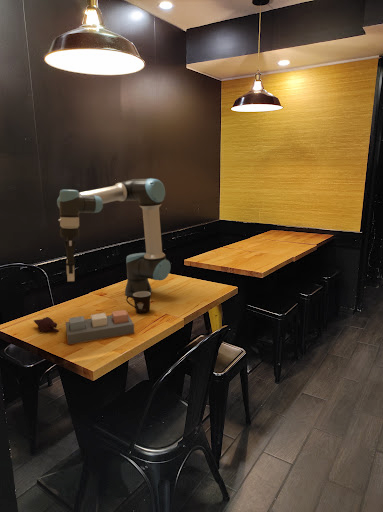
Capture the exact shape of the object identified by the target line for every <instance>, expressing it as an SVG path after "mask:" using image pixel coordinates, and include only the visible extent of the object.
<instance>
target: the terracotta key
mask: <svg viewBox="0 0 383 512" xmlns="http://www.w3.org/2000/svg"><path fill="white" fill-rule="evenodd" d="M111 315H112V321H113V323H114V324H117V323H123V322H128V315H129V314H128V312H127V311H126V309H123V310H115V311H111Z"/></svg>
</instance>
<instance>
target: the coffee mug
mask: <svg viewBox="0 0 383 512" xmlns="http://www.w3.org/2000/svg"><path fill="white" fill-rule="evenodd" d="M151 295H152V293H150V292H146V291H141V292H136V293H134V294H133V297H132V296H127V297H126V301H125V302H127V303H128V305H130V306H131V307H133V308H134V309H135V312H136V314H138V315H144V314H145V315H146V314H148V313H150V309H151V298H152V297H151ZM129 298H132V299H133V302H134V303H133V304H134V305H133V304H132V303H131V302H129V300H128V299H129Z"/></svg>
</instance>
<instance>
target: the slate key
mask: <svg viewBox="0 0 383 512" xmlns="http://www.w3.org/2000/svg"><path fill="white" fill-rule="evenodd" d="M85 319H86V318H85V316H84V315H81V316H74V317H69V318H68V322H69V323H70V331H73V330H80V329H86V327H85Z"/></svg>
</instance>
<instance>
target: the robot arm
mask: <svg viewBox="0 0 383 512" xmlns="http://www.w3.org/2000/svg"><path fill="white" fill-rule="evenodd" d="M165 188H166V187H165V184H164V183H163V182H162V181H161V180H160V179H158V178H152V177H150V178H132V179H128V180H124V181H121V182H116V183H115V184H114V185H112V186H106V187H102V188H101V187H100V188H96V189H90V190H85V191H80V192H79V190H77V189H60V191H59V196H58V198H57V200H56V205H57V207H58V209H59V219H58V220H57V221H58V222H59V227H60V229H59V237H61V238H65V239H66V240H65V241H64V247H65V252H66V255H65V257H66V263H65V267H66V275H67V276H66V277H67V281H66V282H75V263H76V262H75V246H76V242H75V240H74V238H79V236H80V229H79V227H80V214H82V213H83V214H84V213H85V214H87V213H88V214H95V213H100V212H101V211H103V210H102V209H103V208H104V204H108V203H111V202H116V201H119V202H124V201H126V202H127V201H130V202H131V201H132V202H138V205H139V207H140V208H141V209H142V220H143V230H144V242H145V252H139V253H132V254H129V255H127V256H126V260H125V261H126V262H125V264H126V276H127V277H126V278H127V281H126V286H125V288H124V295H125V296H127V297H128V296H132V297H133V294H134V293H136V292H141V291H146V292H150V293H151V294H152V292H153V291H152V290H153V289H152V287H151V284H150V281H149V280H154V281H164V280H166V279H167V278H168V277H169V274H170V272H171V267H172V266H171V262H170V260H169V259H167V258H166V254H165V253H164V252H163V242H162V232H161V230H162V229H161V220H160V218H161V217H160V207H161V206H162V202H163V201H164V200H165V197H166V189H165Z"/></svg>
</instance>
